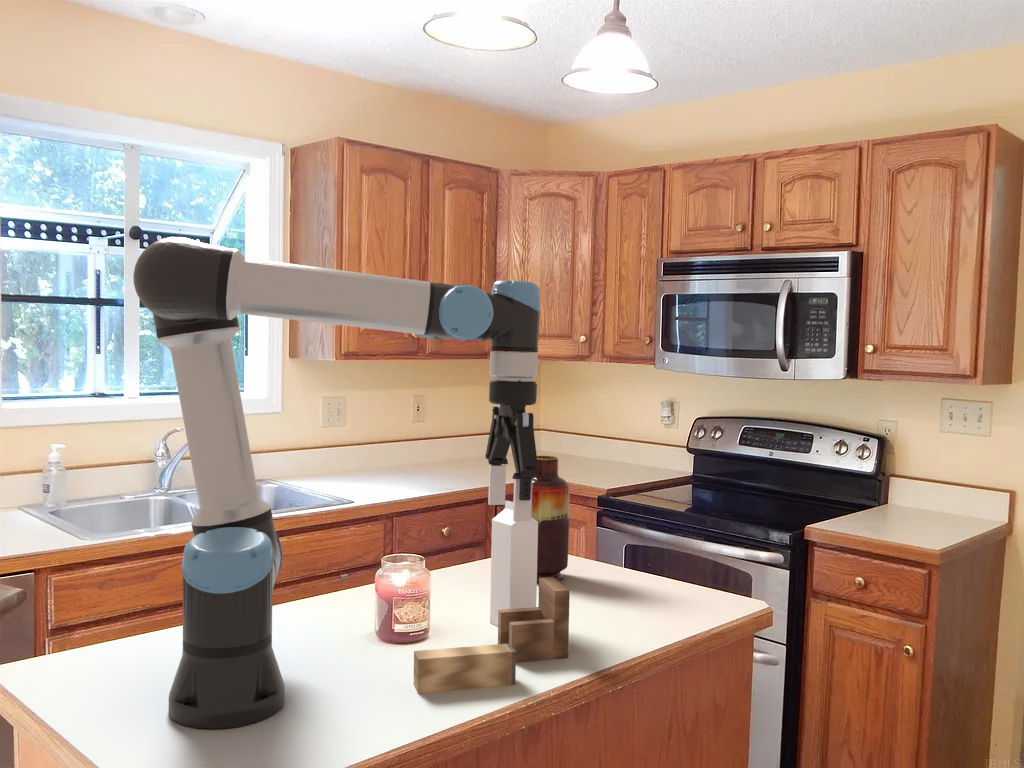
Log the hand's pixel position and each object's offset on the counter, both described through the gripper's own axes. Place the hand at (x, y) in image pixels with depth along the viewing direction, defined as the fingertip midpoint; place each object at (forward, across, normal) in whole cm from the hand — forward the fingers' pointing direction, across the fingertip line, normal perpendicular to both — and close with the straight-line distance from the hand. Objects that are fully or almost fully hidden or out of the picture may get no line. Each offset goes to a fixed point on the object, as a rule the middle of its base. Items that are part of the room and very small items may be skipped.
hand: (508, 512), depth 141 cm
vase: (+23, +44, -22) cm, 55 cm away
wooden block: (+24, -9, +9) cm, 27 cm away
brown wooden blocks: (+23, +2, -5) cm, 24 cm away
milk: (+24, +16, -6) cm, 29 cm away
